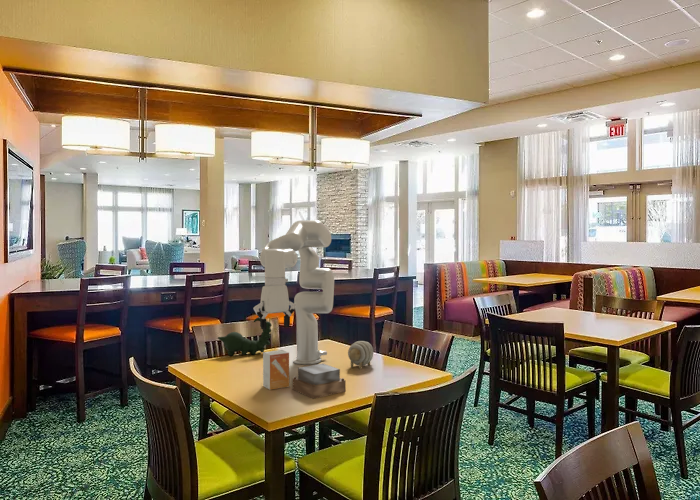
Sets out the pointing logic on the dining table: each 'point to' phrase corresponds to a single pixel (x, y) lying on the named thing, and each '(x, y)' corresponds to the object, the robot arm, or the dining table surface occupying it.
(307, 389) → the grey and wooden block
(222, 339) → the toy figurine
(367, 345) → the toy sheep
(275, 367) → the small box
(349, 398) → the dining table surface
